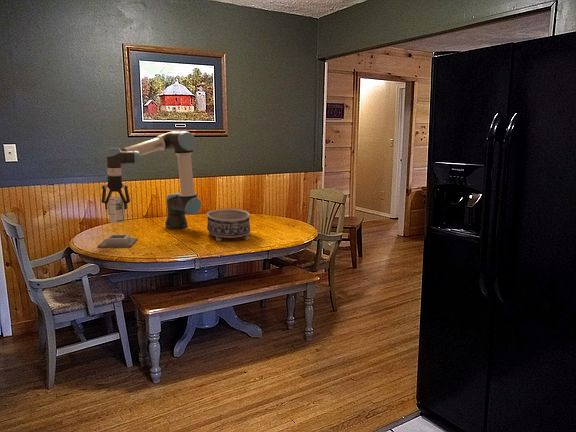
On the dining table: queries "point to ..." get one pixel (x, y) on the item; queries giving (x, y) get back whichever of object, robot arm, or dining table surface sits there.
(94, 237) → the dining table surface
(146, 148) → the robot arm
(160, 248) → the dining table surface
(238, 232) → the decorative bowl
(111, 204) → the syrup box
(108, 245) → the mount plate
